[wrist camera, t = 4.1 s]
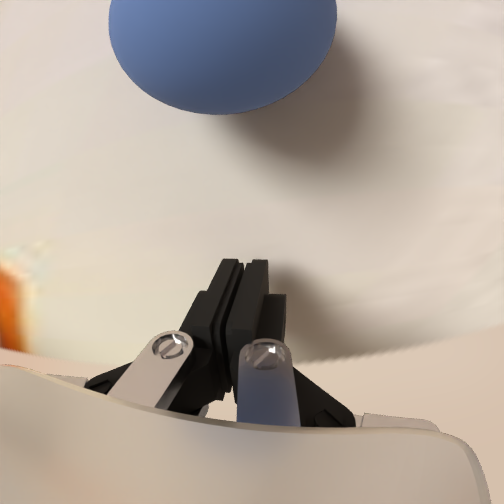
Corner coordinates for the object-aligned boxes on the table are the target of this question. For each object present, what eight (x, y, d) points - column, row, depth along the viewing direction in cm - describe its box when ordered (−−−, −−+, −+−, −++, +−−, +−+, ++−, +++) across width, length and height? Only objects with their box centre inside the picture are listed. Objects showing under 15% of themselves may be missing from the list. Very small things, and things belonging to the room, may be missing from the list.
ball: (168, 121, 10) (62, 140, 5) (164, -11, 8) (74, -68, 2) (329, 113, 10) (367, 113, 4) (319, -28, 7) (330, -123, 2)
